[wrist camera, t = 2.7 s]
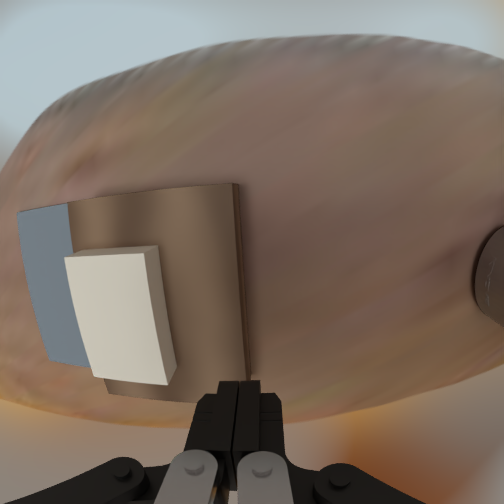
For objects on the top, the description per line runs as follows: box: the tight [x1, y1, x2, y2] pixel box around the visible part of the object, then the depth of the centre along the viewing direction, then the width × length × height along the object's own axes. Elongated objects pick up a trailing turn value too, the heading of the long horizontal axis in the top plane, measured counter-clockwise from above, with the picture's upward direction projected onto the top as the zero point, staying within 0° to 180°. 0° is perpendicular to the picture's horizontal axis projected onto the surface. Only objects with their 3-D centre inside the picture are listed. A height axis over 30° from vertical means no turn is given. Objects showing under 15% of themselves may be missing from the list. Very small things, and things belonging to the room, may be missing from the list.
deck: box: [67, 183, 251, 403], centre depth 22 cm, size 12×16×4 cm
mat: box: [17, 204, 91, 368], centre depth 24 cm, size 10×16×1 cm, turn 3°
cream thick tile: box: [64, 245, 177, 385], centre depth 19 cm, size 6×9×2 cm, turn 3°
